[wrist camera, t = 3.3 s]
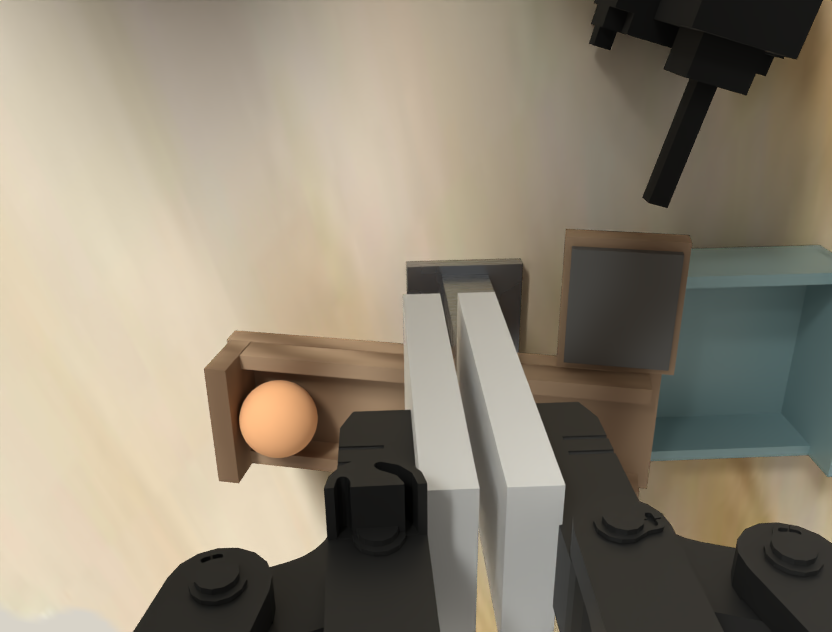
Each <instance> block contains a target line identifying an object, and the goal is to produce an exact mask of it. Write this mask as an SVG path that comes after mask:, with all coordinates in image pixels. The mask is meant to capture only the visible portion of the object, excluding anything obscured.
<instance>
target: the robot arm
mask: <svg viewBox="0 0 832 632" xmlns="http://www.w3.org/2000/svg"><path fill="white" fill-rule="evenodd" d="M403 331H404V386H405V410H384V411H355V412H352V414H351V415H350V416H349V417H348V419H347V420H346V421H345V422H344V424H343V425H342V426H341V427H340V434H339V450H338V466H337V470H335V471H334V472H333V473H332V474H331V475H330V476H329V477H328V480H327V482H326V485H325V487H324V495H325V509H326V523H327V538H326V540H325V541H324V542H323V543H322V544H321V545H319V546H318V547H317V548H316V549H315V550H313V551H312V552H310V553H308V554H306V555H305V556H303V557H300V558H298V559H295V560H292V561H290V562H287V563H283V564H279V565H276V566H272V567H269V565H268V563H267V561H265V560H264V559H263V558H261V557H260V556H259V555H258V554H256V553H255V552H251V551H248V550H244V549H240V548H217V549H214V550H210V551H207V552H203V553H200V554H197V555H195V556H194V557H192V558H190V559H188V560H187V561H185V562H183V563H181V564H180V565H179V566H178V567H177V568H176V569H175V570H174V571H173V573H172V574H171V575H170V576H169V577H168V578H167V580H166V581H165V583H164V584H163V586H162V587H161V589H160V591H159V592H158V594H157V595H156V597H155V598H154V600H153V601H152V603H151V605H150V606H149V608H148V609H147V611H146V612H145V614H144V616H143V617H142V619H141V620H140V622H139V623H138V625H137V627H136V628H135V630H134V631H133V632H476V598H477V562H478V528H479V533H480V538H481V544H482V549H483V555H484V560H485V565H486V571H487V576H488V581H489V587H490V592H491V597H492V603H493V608H494V613H495V619H496V624H497V629H498V632H554V621H555V616H556V620H557V624H558V627H559V631H560V632H832V543H831V542H829V541H828V540H826V539H825V538H823V537H822V536H820V535H819V534H816V533H814V532H811V531H809V530H806V529H804V528H801V527H799V526H794V525H788V524H783V523H761V524H757V525H754V526H752V527H749V528H747V529H745V530H744V531H743V533H742V534H741V535H740V537H739V538H738V539H737V544H736V548H732V547H726V546H720V545H715V544H709V543H704V542H699V541H695V540H691V539H687V538H684V537H681V536H679V535H677V534H675V532H674V530H673V528H672V526H671V524H670V523H669V522H668V521H667V519H666V518H665V517H664V516H663V514H662V513H660V512H659V511H657V510H656V509H654V508H652V507H651V506H649V505H648V504H645V503H642V502H639V500H638V498H637V496H636V494H635V492H634V490H633V488H632V485H631V483H630V481H629V479H628V477H627V475H626V473H625V471H624V469H623V467H622V465H621V463H620V461H619V459H618V457H617V455H616V453H614V449H613V447H612V445H611V443H610V441H609V439H608V438H607V435H606V433H605V431H604V429H603V427H602V425H601V422H600V420H599V418H598V417H597V416H596V415H595V414H593V413H592V412H591V411H590V410H588V409H587V408H586V407H584V406H583V405H582V404H581V403H579V402H556V403H535V401H534V398H533V395H532V393H531V390H530V387H529V384H528V382H527V379H526V376H525V374H524V371H523V368H522V365H521V363H520V360H519V357H518V354H517V352H516V349H515V346H514V344H513V341H512V338H511V335H510V333H509V330H508V327H507V325H506V322H505V319H504V316H503V314H502V311H501V308H500V305H499V303H498V300H497V297H496V295H495V292H473V293H458V302H457V375H456V370H455V365H454V360H453V355H452V350H451V345H450V340H449V336H448V331H447V326H446V321H445V316H444V311H443V306H442V301H441V296H440V293H438V294H403Z"/></svg>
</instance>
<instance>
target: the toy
mask: <svg viewBox="0 0 832 632" xmlns="http://www.w3.org/2000/svg"><path fill="white" fill-rule="evenodd" d="M822 1H823V0H595V1H594V3H595V4H598V5H597V8H596V11H595V14H594V16H593V19H592V22H591V24H593V25H595V27H594V30H593V33H592V36H591V39H590V42H589V44H592V45H594V46H598V47H601V48H604V49H608V50H611V47H612V44H613V42H614V39H615V36H616V33H617V32H620V33H623V34H627V35H630V36H633V37H637V38H640V39H643V40H647V41H650V42H653V43H657V44H660V45H663V46H667V47H670V48H672V49H671V51H670V54H669V56H668V59H667V62H666V64H665V67H664V69H665V70H667V71H670V72H672V73H675V74H678V75H680V76H683V77H686V78H689V82H688V84H687V87H686V89H685V92H684V94H683V97H682V99H681V102H680V104H679V107H678V109H677V112H676V114H675V117H674V119H673V122H672V124H671V127H670V129H669V132H668V134H667V137H666V139H665V142H664V144H663V147H662V149H661V152H660V154H659V157H658V159H657V162H656V165H655V167H654V170H653V172H652V175H651V177H650V180H649V182H648V185H647V187H646V190H645V192H644V195H643V197H642V198H644V199H645V200H646V201H647V202H648V203H650V204H654V205H658V206H662V207H665V208H668V205H669V203H670V201H671V198H672V196H673V193H674V191H675V189H676V186H677V184H678V181H679V179H680V176H681V174H682V172H683V169H684V167H685V164H686V162H687V159H688V157H689V155H690V152H691V150H692V147H693V145H694V142H695V140H696V138H697V135H698V133H699V130H700V128H701V125H702V123H703V121H704V118H705V116H706V113H707V111H708V109H709V106H710V104H711V101H712V99H713V96H714V94H715V92H716V89H717V87H719V88H723V89H726V90H729V91H733V92H736V93H740V94H743V95H747V93H748V91H749V88H750V86H751V84H752V81H753V79H754V77H755V74H760V75H763V76H766V74H767V72H768V70H769V68H770V65H771V63H772V61H773V58H774V57H778V58H782V59H784V57H788V58H792V59H797V58H798V55H799V53H800V51H801V49H802V46H803V44H804V42H805V40H806V37H807V35H808V33H809V31H810V28H811V26H812V24H813V22H814V19H815V17H816V15H817V13H818V10H819V8H820V6H821V4H822Z"/></svg>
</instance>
